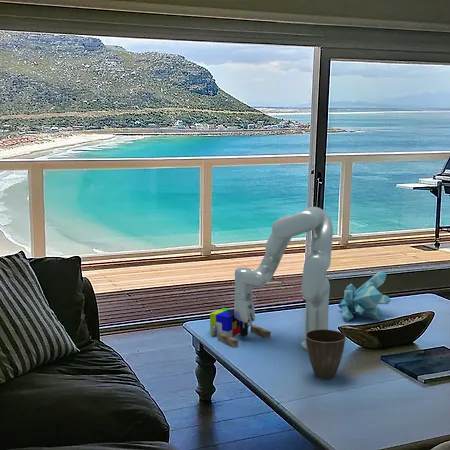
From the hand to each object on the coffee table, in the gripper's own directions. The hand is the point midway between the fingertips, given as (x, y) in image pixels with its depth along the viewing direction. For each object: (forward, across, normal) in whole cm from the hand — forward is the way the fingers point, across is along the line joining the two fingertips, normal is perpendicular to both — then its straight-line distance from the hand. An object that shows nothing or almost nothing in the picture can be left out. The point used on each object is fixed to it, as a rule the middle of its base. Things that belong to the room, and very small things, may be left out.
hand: (244, 335), depth 289 cm
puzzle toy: (+2, +11, +3) cm, 11 cm away
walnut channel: (+1, 0, 0) cm, 1 cm away
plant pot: (+2, -51, -1) cm, 51 cm away
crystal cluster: (+2, -11, -65) cm, 66 cm away
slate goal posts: (+1, +11, 0) cm, 11 cm away
